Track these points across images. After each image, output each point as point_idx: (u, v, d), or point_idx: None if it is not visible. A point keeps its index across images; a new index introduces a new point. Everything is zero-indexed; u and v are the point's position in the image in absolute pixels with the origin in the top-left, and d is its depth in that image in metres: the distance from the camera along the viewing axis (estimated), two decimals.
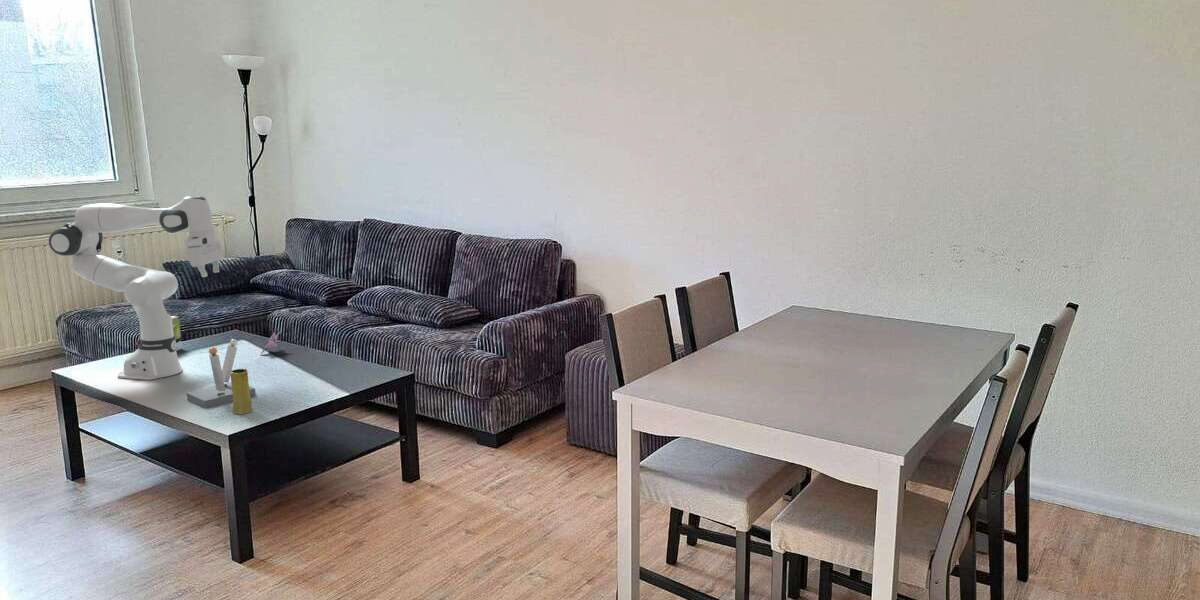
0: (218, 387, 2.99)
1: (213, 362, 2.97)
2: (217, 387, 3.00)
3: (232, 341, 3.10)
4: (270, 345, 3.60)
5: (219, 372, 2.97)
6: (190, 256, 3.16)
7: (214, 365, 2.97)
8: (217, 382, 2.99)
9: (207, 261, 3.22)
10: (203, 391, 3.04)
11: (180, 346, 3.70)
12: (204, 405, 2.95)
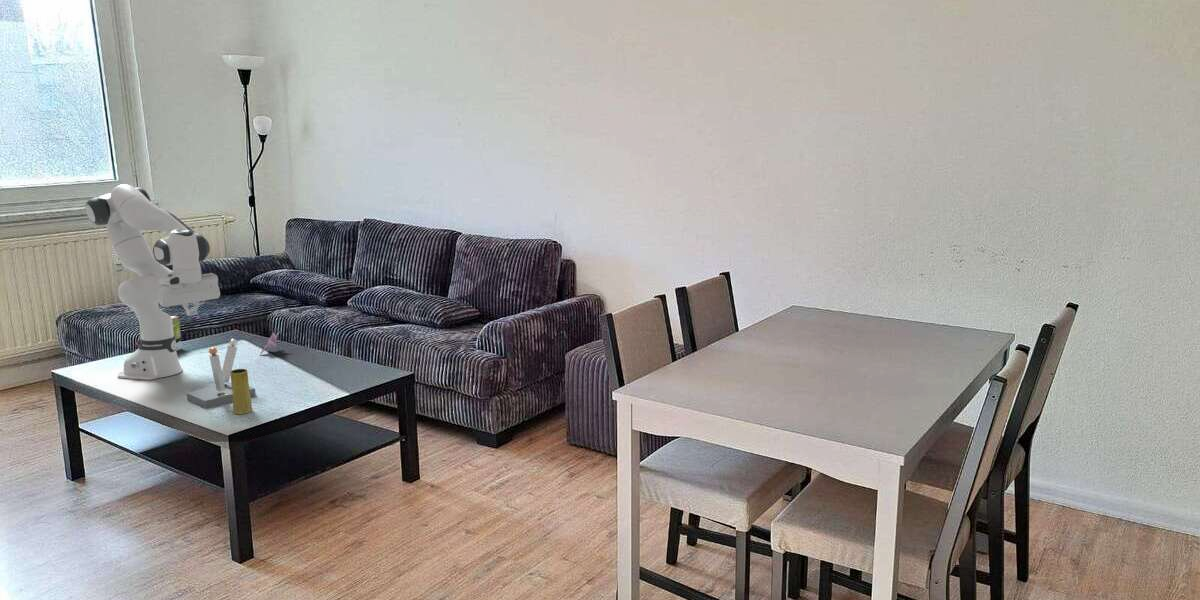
0: (218, 387, 2.99)
1: (213, 362, 2.97)
2: (217, 387, 3.00)
3: (232, 341, 3.10)
4: (269, 345, 3.60)
5: (219, 372, 2.97)
6: (158, 294, 2.94)
7: (214, 365, 2.97)
8: (217, 382, 2.99)
9: (181, 302, 2.97)
10: (203, 391, 3.04)
11: (180, 346, 3.70)
12: (204, 405, 2.95)
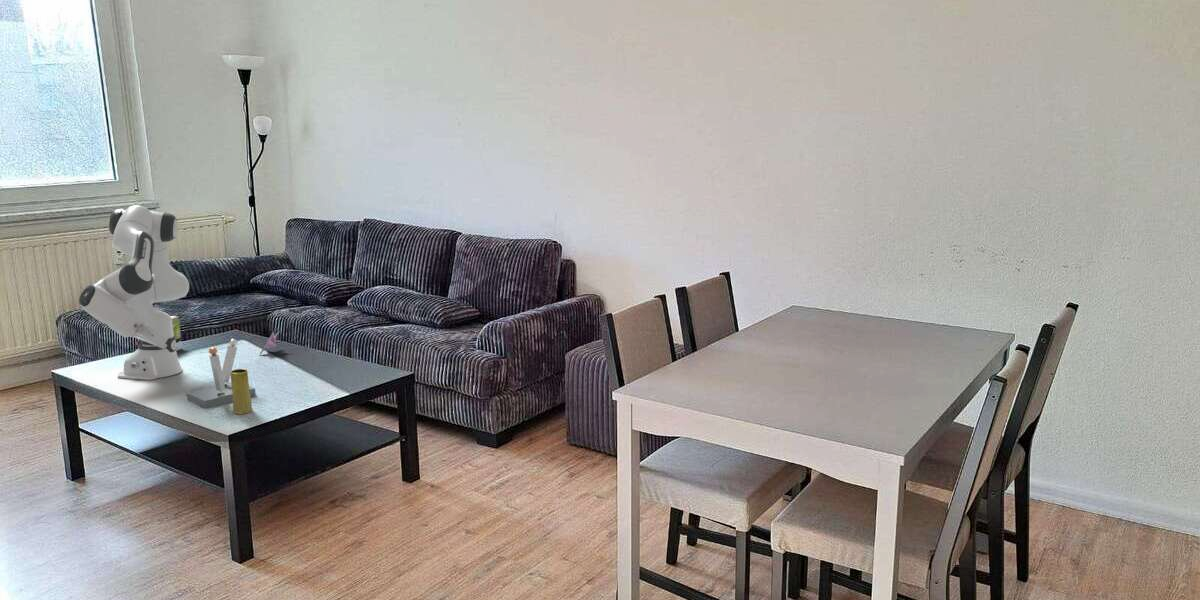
0: (218, 387, 2.99)
1: (213, 362, 2.97)
2: (217, 387, 3.00)
3: (232, 341, 3.10)
4: (269, 345, 3.59)
5: (219, 372, 2.97)
6: None
7: (214, 365, 2.97)
8: (217, 382, 2.99)
9: (141, 340, 2.82)
10: (203, 391, 3.04)
11: (180, 346, 3.70)
12: (204, 405, 2.95)
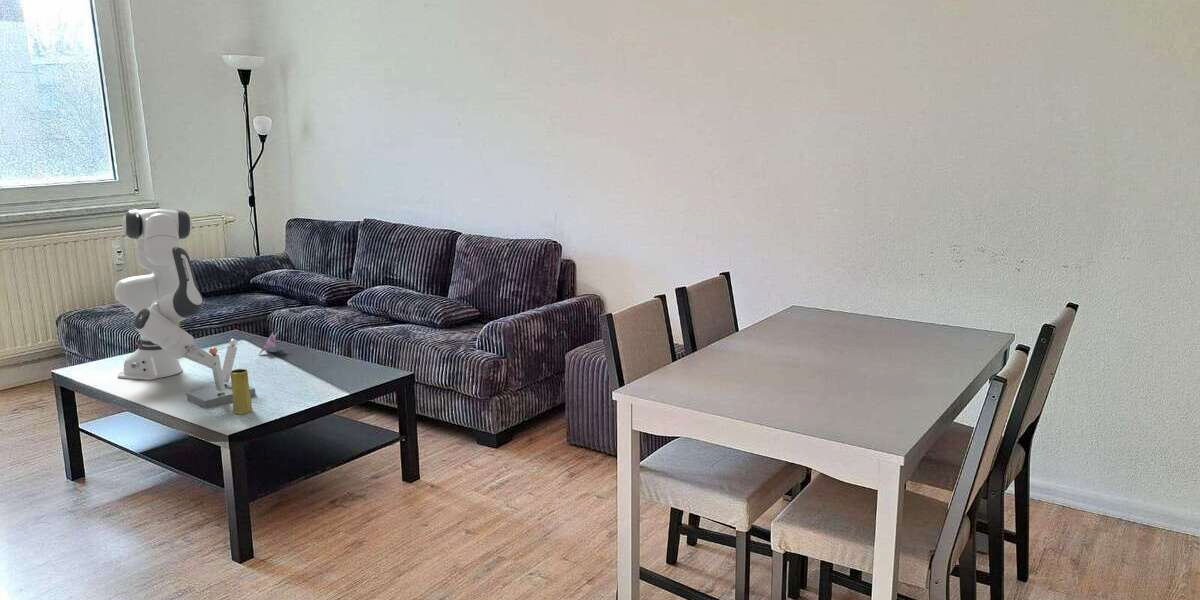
0: (218, 387, 2.99)
1: None
2: (217, 387, 3.00)
3: (232, 341, 3.10)
4: (268, 345, 3.59)
5: (219, 372, 2.97)
6: None
7: None
8: (217, 382, 2.99)
9: (190, 359, 2.95)
10: (203, 391, 3.04)
11: None
12: (204, 405, 2.95)
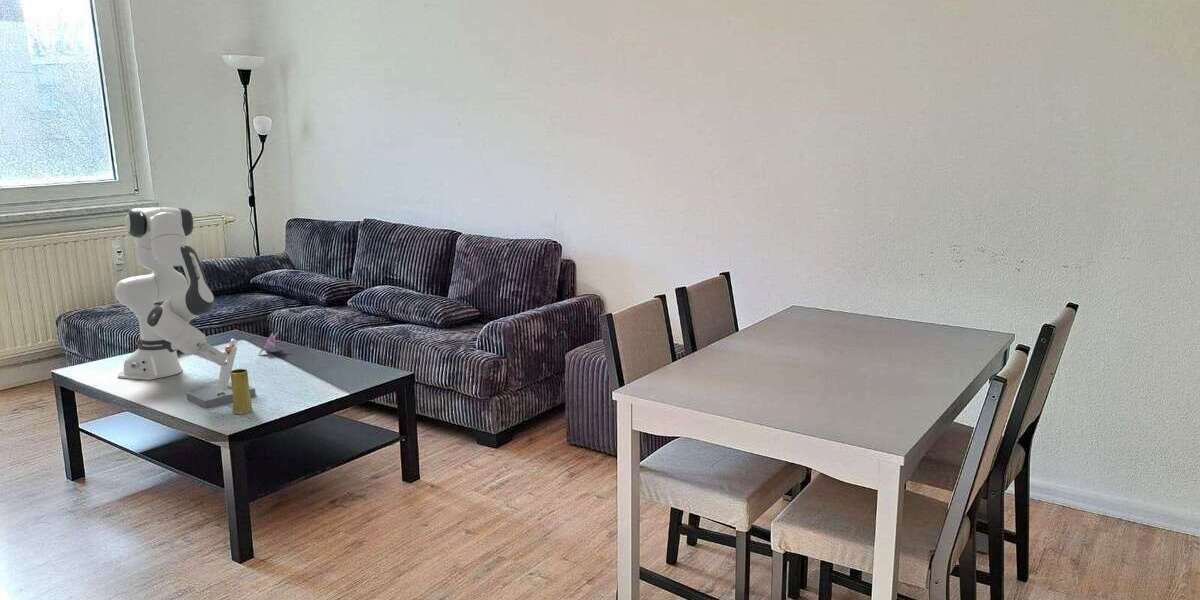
0: (221, 386, 3.00)
1: None
2: (219, 386, 3.00)
3: (232, 341, 3.10)
4: (268, 345, 3.59)
5: (227, 371, 2.99)
6: None
7: None
8: (221, 381, 3.00)
9: (202, 357, 2.98)
10: (203, 391, 3.04)
11: None
12: (204, 405, 2.95)
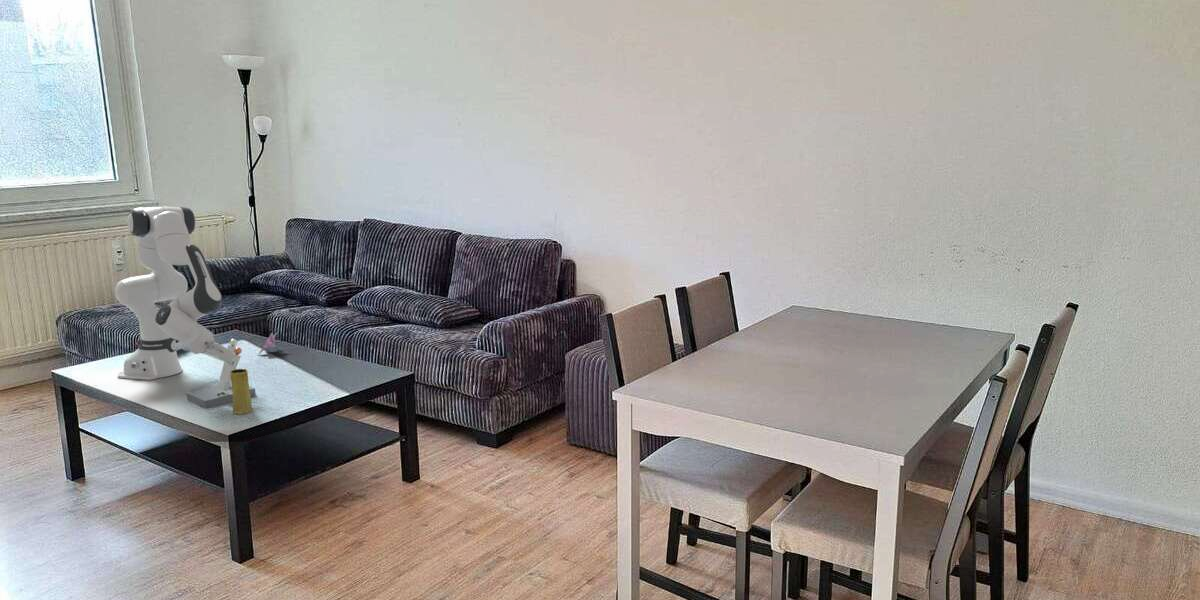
0: (222, 386, 3.00)
1: None
2: (221, 386, 3.01)
3: (232, 341, 3.10)
4: (268, 345, 3.59)
5: None
6: None
7: None
8: (224, 380, 3.00)
9: None
10: (203, 391, 3.04)
11: (180, 346, 3.70)
12: (204, 405, 2.95)
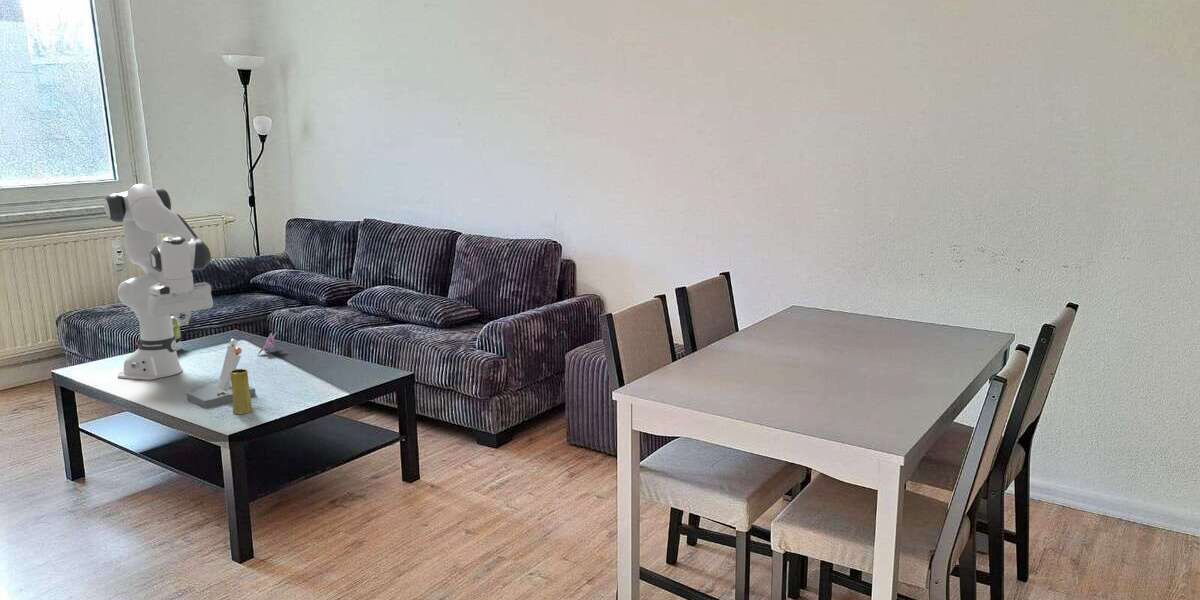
0: (222, 386, 3.00)
1: (232, 360, 3.02)
2: (221, 386, 3.01)
3: (232, 341, 3.10)
4: (267, 345, 3.59)
5: None
6: (148, 304, 2.84)
7: (231, 363, 3.01)
8: (224, 380, 3.00)
9: (171, 312, 2.86)
10: (203, 391, 3.04)
11: (180, 346, 3.70)
12: (204, 405, 2.95)
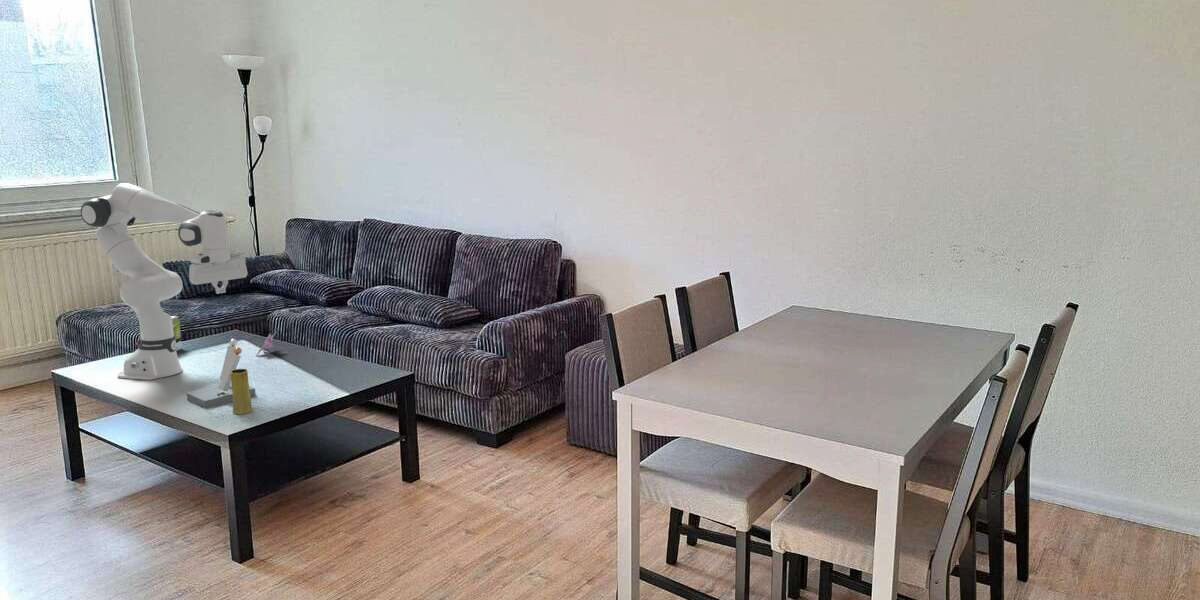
0: (222, 386, 3.00)
1: (232, 360, 3.02)
2: (221, 386, 3.01)
3: (232, 341, 3.10)
4: (266, 346, 3.59)
5: None
6: (189, 272, 3.08)
7: (231, 363, 3.01)
8: (224, 380, 3.00)
9: (210, 280, 3.11)
10: (203, 391, 3.04)
11: (180, 346, 3.70)
12: (204, 405, 2.95)
